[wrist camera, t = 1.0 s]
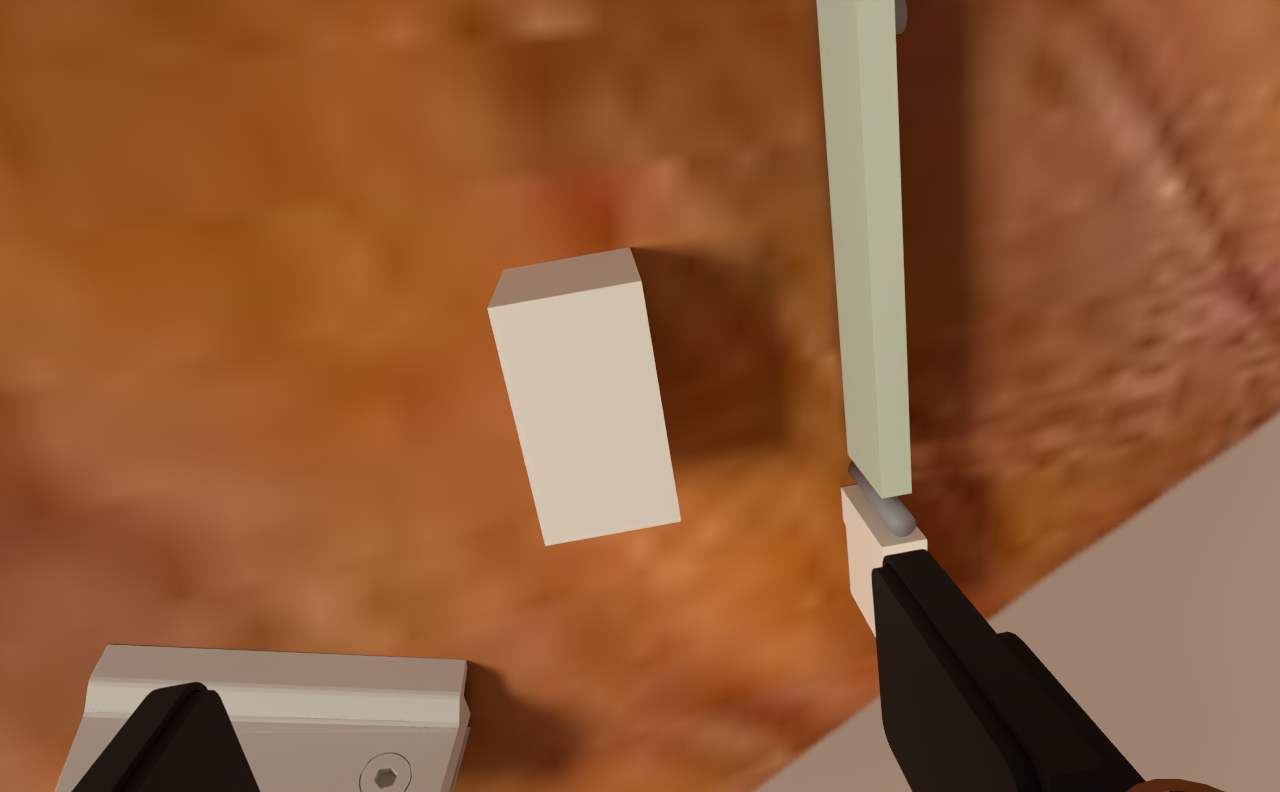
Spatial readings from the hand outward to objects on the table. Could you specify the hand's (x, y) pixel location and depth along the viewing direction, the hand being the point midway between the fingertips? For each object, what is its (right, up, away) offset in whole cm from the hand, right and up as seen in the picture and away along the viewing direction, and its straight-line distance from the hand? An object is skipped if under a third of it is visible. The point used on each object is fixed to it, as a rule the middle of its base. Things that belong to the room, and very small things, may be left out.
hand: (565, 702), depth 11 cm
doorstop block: (-1, +6, +21) cm, 22 cm away
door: (+10, +10, +20) cm, 24 cm away
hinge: (-16, -11, +26) cm, 33 cm away
